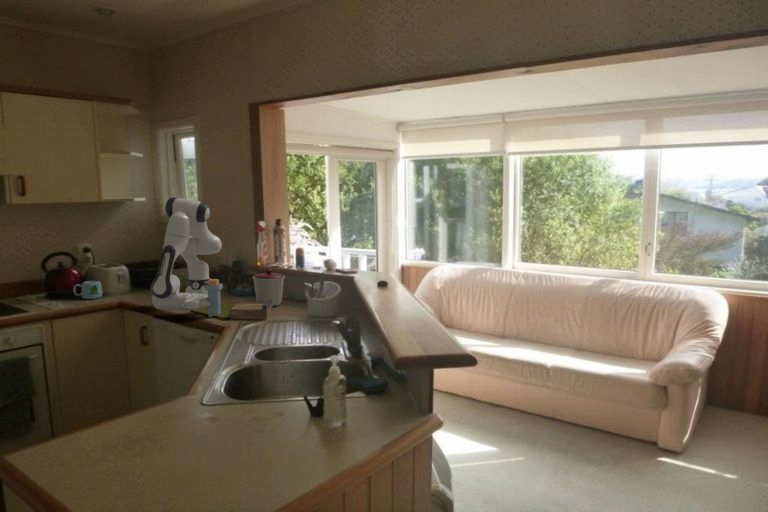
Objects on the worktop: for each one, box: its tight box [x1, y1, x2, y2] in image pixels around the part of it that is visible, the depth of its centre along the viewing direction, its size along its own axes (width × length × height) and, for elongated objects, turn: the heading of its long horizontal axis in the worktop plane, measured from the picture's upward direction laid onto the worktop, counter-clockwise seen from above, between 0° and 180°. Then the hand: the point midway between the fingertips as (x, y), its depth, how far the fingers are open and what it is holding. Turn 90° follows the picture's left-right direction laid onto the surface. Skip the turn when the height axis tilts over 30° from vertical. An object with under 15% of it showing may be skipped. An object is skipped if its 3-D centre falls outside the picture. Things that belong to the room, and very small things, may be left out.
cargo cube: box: [209, 278, 220, 286], centre depth 258 cm, size 4×4×4 cm
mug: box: [72, 280, 103, 300], centre depth 300 cm, size 15×11×10 cm
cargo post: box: [205, 283, 224, 318], centre depth 259 cm, size 7×7×16 cm
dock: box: [229, 300, 273, 320], centre depth 260 cm, size 16×18×7 cm
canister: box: [252, 268, 286, 308], centre depth 286 cm, size 18×18×21 cm
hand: (213, 301), depth 259 cm, fingers open, 8 cm apart
